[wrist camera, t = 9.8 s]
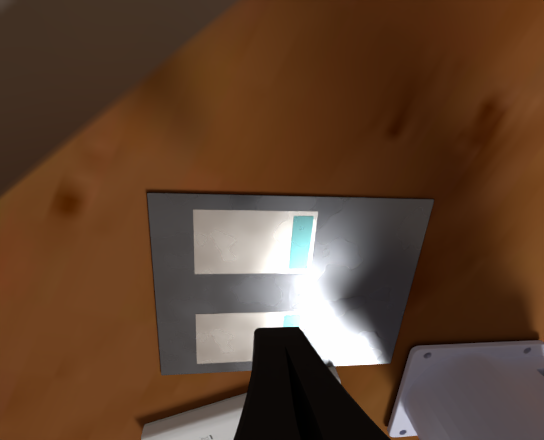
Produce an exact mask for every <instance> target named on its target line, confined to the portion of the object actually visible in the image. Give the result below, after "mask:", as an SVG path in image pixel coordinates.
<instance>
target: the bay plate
mask: <svg viewBox="0 0 544 440" xmlns="http://www.w3.org/2000/svg"><path fill="white" fill-rule="evenodd" d="M147 198H148V210H149V223H150V236H151V248H152V261H153V274H154V286H155V299H156V312H157V324H158V337H159V350H160V362H161V375H175V374H194V373H213V372H232V371H251V370H252V357H253V340H254V331H255V330H256V329H257V328H268V327H299V328H300V329H301V330H302V331H303V333H304V334H305V336H306V337H307V339H308V340H309V342H310V343H311V345H312V346H313V347H314V349H315V350H316V352H317V353H318V355H319V356H320V357H321V359H322V360H323V361H324V363H325V364H326V366H346V365H365V364H385V363H391V359H392V355H393V351H394V348H395V344H396V340H397V337H398V333H399V329H400V325H401V322H402V318H403V314H404V311H405V307H406V303H407V299H408V296H409V292H410V288H411V284H412V281H413V277H414V273H415V270H416V266H417V262H418V258H419V255H420V251H421V247H422V243H423V240H424V236H425V232H426V229H427V225H428V221H429V217H430V214H431V210H432V206H433V203H434V199H415V198H372V197H329V196H286V195H242V194H199V193H156V192H147Z"/></svg>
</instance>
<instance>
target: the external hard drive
mask: <svg viewBox="0 0 544 440" xmlns="http://www.w3.org/2000/svg"><path fill="white" fill-rule="evenodd" d="M328 368H329V370H330V371H331V372H332V373H333V375H334V376H335V377H336V378H337V380H338V381H339V382H340V379H339V376H338V374H337V371H336V368H335V366H331V367H328ZM340 384H341V382H340ZM246 395H247V393H245V394H241V395H238V396H235V397H232V398H228V399H225V400H222V401H219V402H216V403H212V404H209V405H206V406H203V407H199V408H196V409H193V410H190V411H187V412H183V413H180V414H177V415H174V416H170V417H167V418H164V419H161V420H157V421H154V422H151V423H148V424H145V425H144V428H143V432H142V436H141V440H233V439H234V436H235V433H236V430H237V427H238V424H239V420H240V417H241V413H242V410H243V406H244V402H245V399H246Z"/></svg>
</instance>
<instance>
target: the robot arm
mask: <svg viewBox="0 0 544 440" xmlns="http://www.w3.org/2000/svg"><path fill="white" fill-rule="evenodd" d="M543 356H544V342H543V341H541V340H532V341H510V342H487V343H465V344H443V345H421V346H415V347H413V348H412V349H411V351H410V353H409V356H408V360H407V363H406V367H405V370H404V374H403V377H402V380H401V384H400V387H399V391H398V394H397V397H396V401H395V404H394V408H393V411H392V414H391V418H390V421H389V425H388V428H387V431H388V433H389V435H390V436H391V437H404V436H416V435H418V437H419V439H420V440H544V357H543ZM233 440H391V439H390V438H389V437H388V436H387V435H386V434H385V433H384V432H383V431H382V430H381V429H380V428H379V427H378V426H377V425H376V424H375V423H374V422H373V421H372V420H371V419H370V417H369V416H368V415H367V414H366V413H365V412H364V411H363V410H362V409H361V407H360V406H359V405H358V404H357V403H356V402H355V400H354V399H353V398H352V397H351V396H350V395H349V393H348V392H347V391H346V390H345V389H344V387H343V386H342V385H341V384H340V382H339V381H338V380H337V378H336V377H335V376H334V375H333V373H332V372H331V371H330V370H329V368H328V367H327V366H326V364H325V363H324V361H323V360H322V359H321V357H320V356H319V355H318V353H317V352H316V350H315V349H314V347H313V346H312V345H311V343H310V342H309V340H308V339H307V337H306V336H305V334H304V333H303V331H302V330H301V329H300V328H299V327H268V328H257V329H256V330H255V331H254V340H253V357H252V372H251V377H250V382H249V387H248V391H247V395H246V399H245V402H244V406H243V410H242V413H241V417H240V420H239V424H238V427H237V430H236V433H235V436H234V439H233Z"/></svg>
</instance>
